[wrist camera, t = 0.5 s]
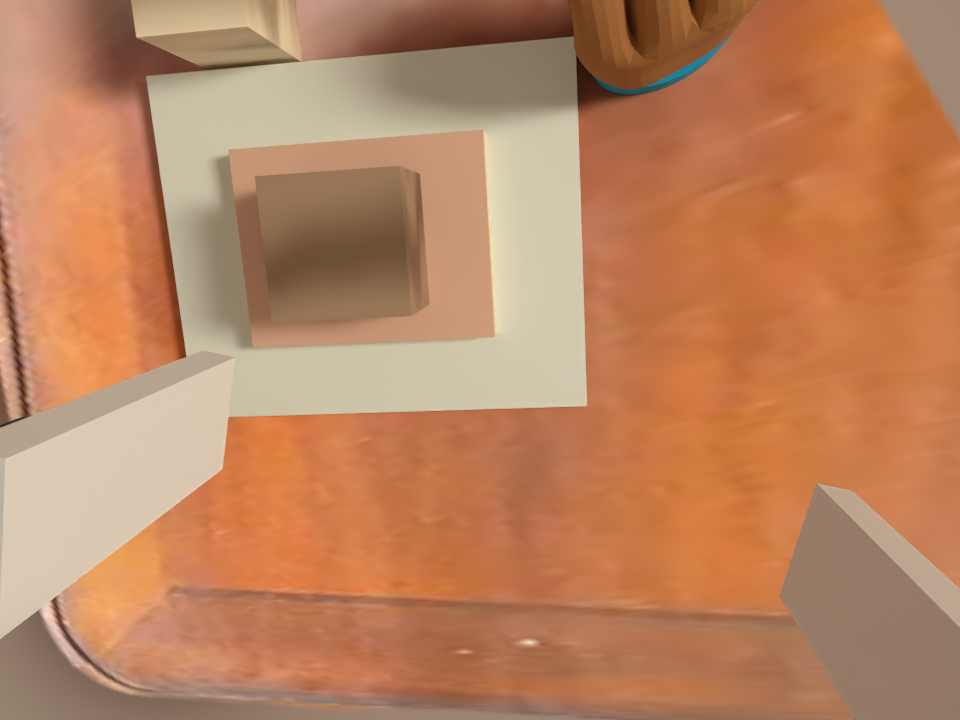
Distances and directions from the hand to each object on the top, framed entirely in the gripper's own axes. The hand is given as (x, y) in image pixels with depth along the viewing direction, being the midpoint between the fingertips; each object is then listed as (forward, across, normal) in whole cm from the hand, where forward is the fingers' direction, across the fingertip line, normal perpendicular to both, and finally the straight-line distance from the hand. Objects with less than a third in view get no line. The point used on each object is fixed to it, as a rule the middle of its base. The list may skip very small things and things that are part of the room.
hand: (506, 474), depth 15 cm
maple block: (+25, -19, +13) cm, 34 cm away
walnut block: (+23, -10, +2) cm, 25 cm away
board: (+25, -10, +2) cm, 27 cm away
